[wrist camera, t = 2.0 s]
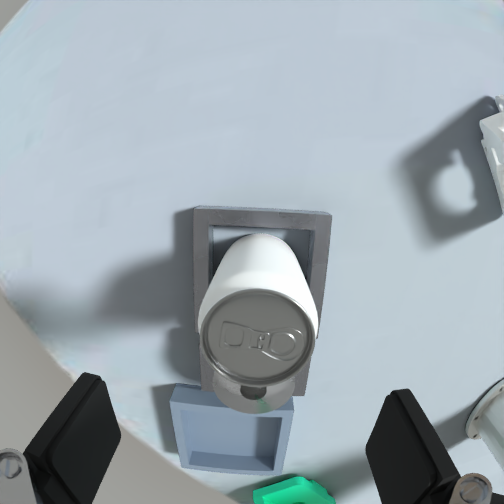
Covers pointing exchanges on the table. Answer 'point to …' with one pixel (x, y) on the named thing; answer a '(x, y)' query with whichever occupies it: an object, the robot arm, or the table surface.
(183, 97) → the table surface
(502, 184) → the mounting bracket
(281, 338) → the can
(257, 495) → the camera mount
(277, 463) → the tray
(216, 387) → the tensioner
